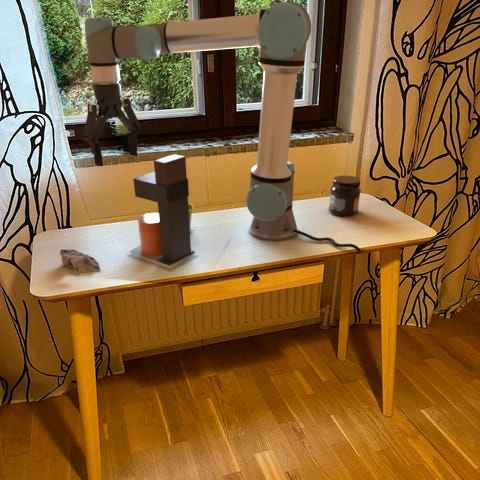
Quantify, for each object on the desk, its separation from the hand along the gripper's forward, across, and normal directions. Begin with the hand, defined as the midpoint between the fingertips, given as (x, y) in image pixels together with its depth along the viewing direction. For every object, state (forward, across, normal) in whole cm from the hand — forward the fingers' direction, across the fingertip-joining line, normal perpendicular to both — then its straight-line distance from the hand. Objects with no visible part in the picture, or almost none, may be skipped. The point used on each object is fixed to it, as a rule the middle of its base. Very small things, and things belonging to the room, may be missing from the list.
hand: (116, 160), depth 151 cm
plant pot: (+25, -13, +12) cm, 30 cm away
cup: (+23, +4, +17) cm, 29 cm away
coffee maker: (+25, +4, +19) cm, 32 cm away
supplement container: (+25, -62, +47) cm, 81 cm away
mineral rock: (+25, +24, +6) cm, 35 cm away
